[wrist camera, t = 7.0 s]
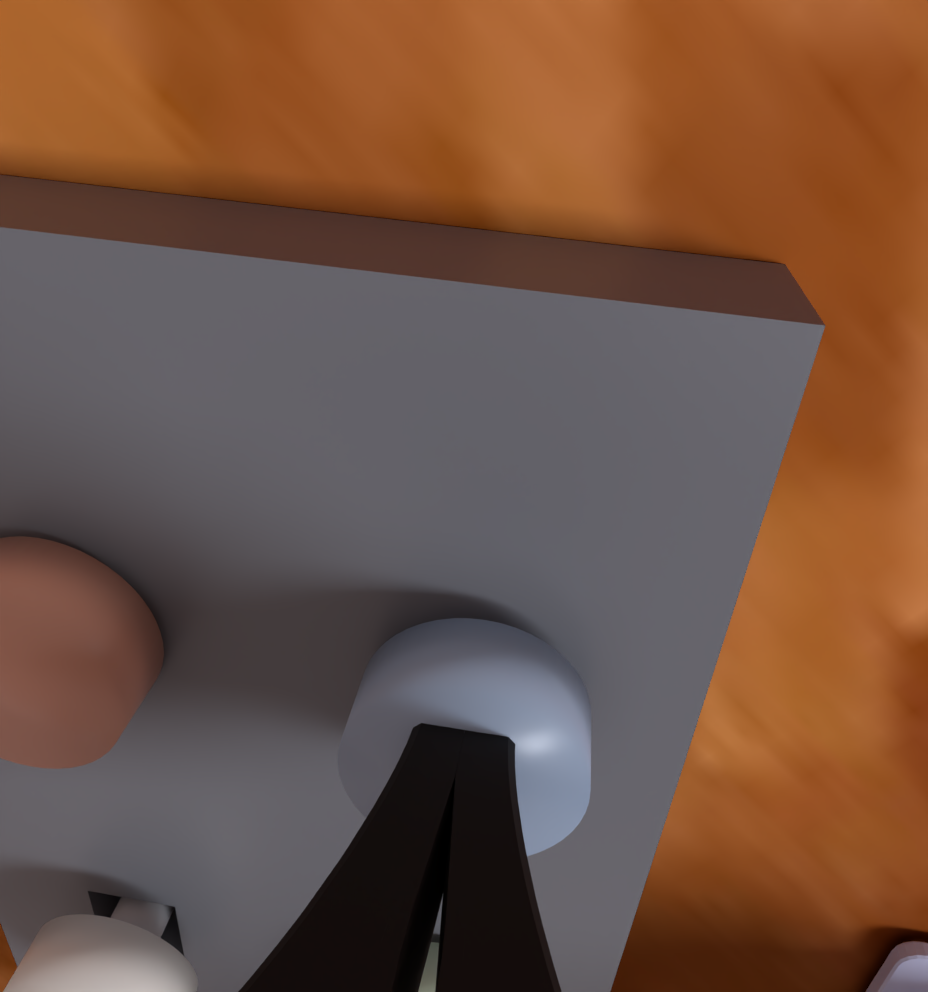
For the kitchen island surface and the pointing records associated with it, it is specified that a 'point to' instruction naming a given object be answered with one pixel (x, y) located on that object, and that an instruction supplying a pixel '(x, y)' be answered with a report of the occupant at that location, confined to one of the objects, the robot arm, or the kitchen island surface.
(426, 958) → the robot arm
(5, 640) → the terracotta button
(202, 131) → the kitchen island surface
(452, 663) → the slate button
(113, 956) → the cream button
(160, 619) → the button panel
